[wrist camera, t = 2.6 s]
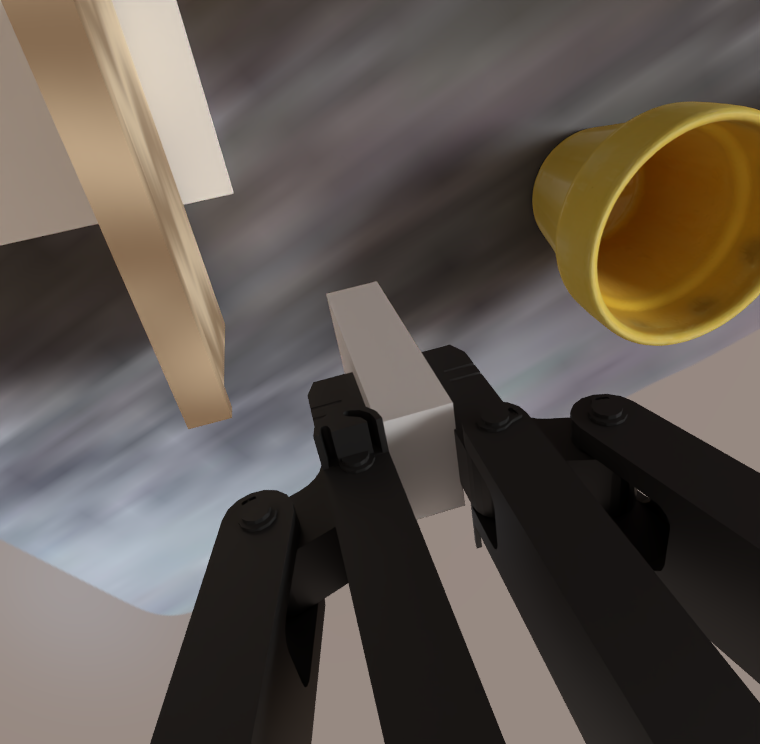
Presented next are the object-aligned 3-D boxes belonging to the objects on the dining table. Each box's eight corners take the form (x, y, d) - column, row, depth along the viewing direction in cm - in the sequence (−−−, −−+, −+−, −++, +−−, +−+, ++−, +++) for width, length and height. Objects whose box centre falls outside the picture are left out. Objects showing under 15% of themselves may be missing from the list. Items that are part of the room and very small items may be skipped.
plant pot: (465, 169, 31) (551, 219, 22) (631, 43, 29) (789, 46, 21) (543, 306, 36) (635, 386, 28) (686, 205, 35) (828, 258, 26)
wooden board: (27, -106, 21) (-84, -183, 13) (83, -115, 21) (3, -196, 14) (196, 334, 31) (185, 429, 23) (233, 325, 31) (234, 417, 24)
